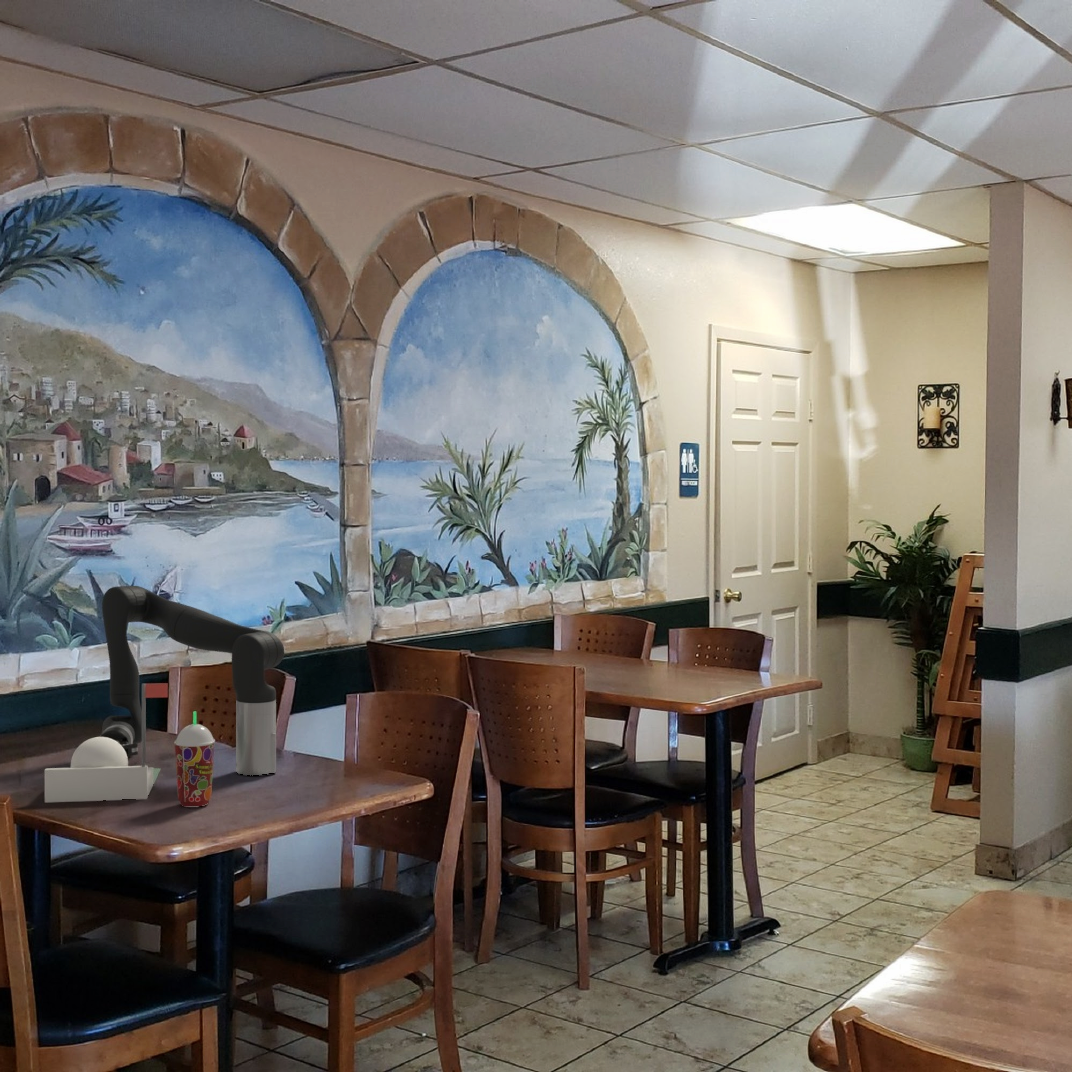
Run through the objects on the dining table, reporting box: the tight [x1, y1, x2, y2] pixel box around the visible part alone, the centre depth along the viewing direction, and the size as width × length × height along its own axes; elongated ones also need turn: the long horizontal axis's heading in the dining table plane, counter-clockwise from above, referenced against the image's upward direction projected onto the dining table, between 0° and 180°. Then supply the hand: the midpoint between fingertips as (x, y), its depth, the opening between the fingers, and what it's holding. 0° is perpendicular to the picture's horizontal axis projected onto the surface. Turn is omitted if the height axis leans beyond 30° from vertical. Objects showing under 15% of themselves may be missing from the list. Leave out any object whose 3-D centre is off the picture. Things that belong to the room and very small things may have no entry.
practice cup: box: [44, 682, 169, 803], centre depth 292 cm, size 25×30×25 cm
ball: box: [70, 736, 129, 768], centre depth 284 cm, size 12×12×12 cm
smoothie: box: [173, 710, 216, 807], centre depth 274 cm, size 8×8×20 cm
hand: (104, 757), depth 290 cm, fingers closed
